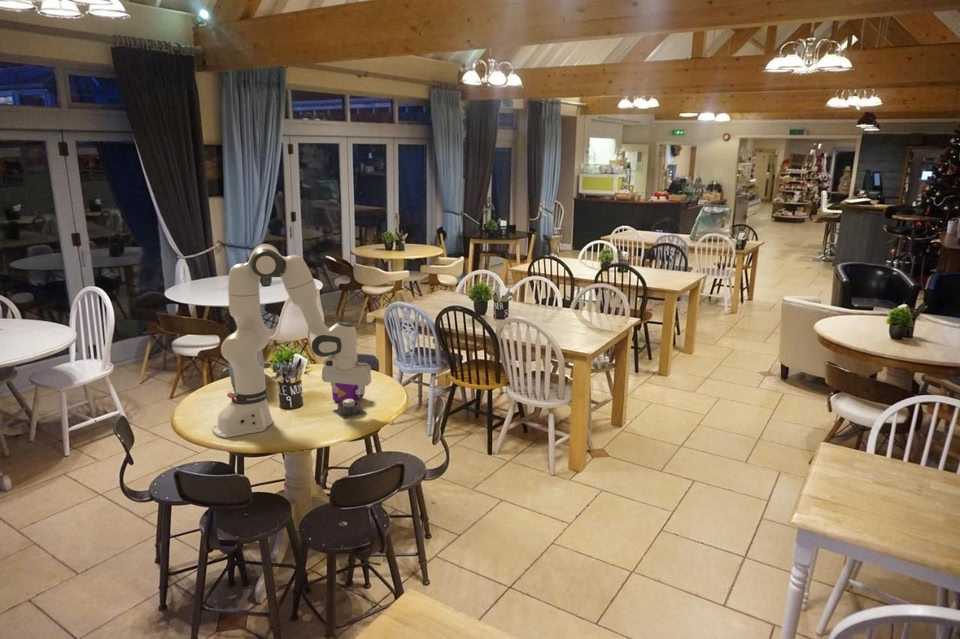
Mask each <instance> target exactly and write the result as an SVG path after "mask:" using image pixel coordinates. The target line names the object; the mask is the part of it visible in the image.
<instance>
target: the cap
mask: <svg viewBox="0 0 960 639" xmlns="http://www.w3.org/2000/svg"><path fill="white" fill-rule="evenodd" d="M355 401H356V399H355V400H353V399H346V400H344V401H343V407H353V406H355Z"/></svg>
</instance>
